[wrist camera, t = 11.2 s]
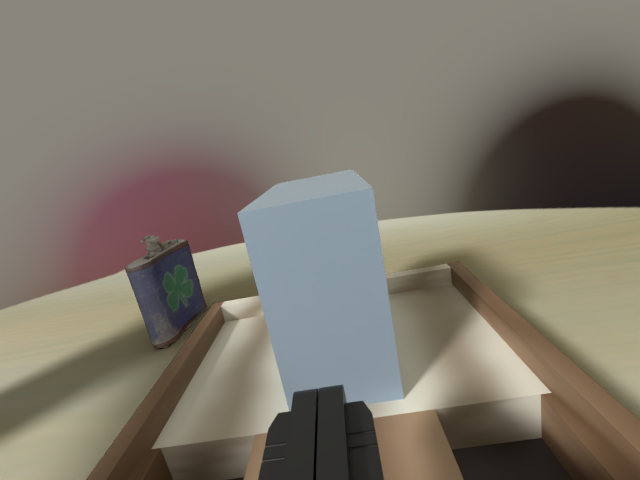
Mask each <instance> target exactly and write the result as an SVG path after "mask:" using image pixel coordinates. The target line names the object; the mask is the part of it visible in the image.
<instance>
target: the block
mask: <svg viewBox="0 0 640 480" xmlns="http://www.w3.org/2000/svg"><path fill="white" fill-rule="evenodd" d="M238 217H239V221H240V225H241V228H242V232H243V236H244V240H245V244H246V248H247V252H248V255H249V259H250V263H251V267H252V271H253V275H254V278H255V282H256V286H257V290H258V294H259V297H260V301H261V305H262V309H263V313H264V317H265V320H266V324H267V328H268V332H269V336H270V340H271V343H272V347H273V351H274V355H275V359H276V363H277V366H278V370H279V374H280V378H281V382H282V385H283V389H284V393H285V397H286V401H287V405H288V408H289V411H291V406H292V399H293V393H294V392H296V391H303V390H309V389H316V388H318V389H319V388H322V387H329V386H335V385H342V384H343V386H344V391H345V396H346V401H347V403H349V402H356V401H363V402H364V403H365V404H372V403H379V402H386V401H393V400H400V399H404V395H403V388H402V382H401V375H400V368H399V362H398V355H397V348H396V342H395V335H394V328H393V322H392V315H391V308H390V301H389V295H388V288H387V281H386V275H385V268H384V261H383V255H382V248H381V241H380V235H379V228H378V221H377V215H376V208H375V201H374V194H373V188H372V187H371V186H370V185H369V184H368V183H367V182H366V181H365V180H363V179H362V178H361V177H360V176H359V175H358V174H357V173H356V172H355V171H353V170H352V169H351V170H346V171H341V172H336V173H331V174H325V175H320V176H315V177H310V178H305V179H299V180H294V181H290V182H284V183H279V184H276V185H275V186H273V187H272V188H271V189H269V190H268V191H267V192H265V193H264V194H263V195H261V196H260V197H259V198H257V199H256V200H255V201H253V202H252V203H251V204H249V205H248V206H246V207H245V208H244V209H242V210H241V211H240V212H238Z"/></svg>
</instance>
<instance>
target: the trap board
mask: <svg viewBox="0 0 640 480" xmlns="http://www.w3.org/2000/svg"><path fill="white" fill-rule="evenodd" d="M385 275H386V281H387V288H388V295H389V301H390V308H391V315H392V322H393V328H394V335H395V342H396V348H397V355H398V362H399V368H400V375H401V382H402V388H403V395H404V399H400V400H393V401H386V402H379V403H372V404H366V406H367V407H368V408H369V410H370V411H371V412H372V415H373V420H374V426H375V431H376V437H377V442H378V448H379V453H380V459H381V465H382V470H383V476H384V480H640V420H639V419H638V418H637V417H635V416H634V415H633V414H632V413H631V412H630V411H629V410H627V409H626V408H625V407H624V406H623V405H622V404H621V403H619V402H618V401H617V400H616V399H615V398H614V397H613V396H611V395H610V394H609V393H608V392H607V391H606V390H605V389H603V388H602V387H601V386H600V385H599V384H598V383H597V382H595V381H594V380H593V379H592V378H591V377H590V376H589V375H587V374H586V373H585V372H584V371H583V370H582V369H581V368H579V367H578V366H577V365H576V364H575V363H574V362H573V361H571V360H570V359H569V358H568V357H567V356H566V355H565V354H563V353H562V352H561V351H560V350H559V349H558V348H557V347H555V346H554V345H553V344H552V343H551V342H550V341H548V340H547V339H546V338H545V337H544V336H543V335H542V334H540V333H539V332H538V331H537V330H536V329H535V328H534V327H532V326H531V325H530V324H529V323H528V322H527V321H526V320H524V319H523V318H522V317H521V316H520V315H519V314H518V313H516V312H515V311H514V310H513V309H512V308H511V307H510V306H508V305H507V304H506V303H505V302H504V301H503V300H502V299H500V298H499V297H498V296H497V295H496V294H495V293H494V292H492V291H491V290H490V289H489V288H488V287H487V286H486V285H484V284H483V283H482V282H481V281H480V280H479V279H478V278H476V277H475V276H474V275H473V274H472V273H471V272H470V271H468V270H467V269H466V268H465V267H464V266H463V265H462V264H460V263H459V262H453V263H447V264H442V265H436V266H430V267H424V268H418V269H412V270H406V271H400V272H395V273H389V274H385ZM288 411H289V408H288V405H287V401H286V397H285V393H284V389H283V385H282V382H281V378H280V374H279V370H278V366H277V363H276V359H275V355H274V351H273V347H272V343H271V340H270V336H269V332H268V328H267V324H266V320H265V317H264V313H263V309H262V305H261V301H260V297H259V296H254V297H248V298H242V299H236V300H230V301H224V302H219V303H213V305H212V306H211V307H210V309H209V310H208V312H207V313H206V314H205V316H204V317H203V319H202V320H201V321H200V323H199V324H198V325H197V327H196V328H195V330H194V331H193V332H192V334H191V335H190V337H189V338H188V339H187V341H186V342H185V343H184V345H183V346H182V348H181V349H180V350H179V352H178V353H177V355H176V356H175V357H174V359H173V360H172V361H171V363H170V364H169V366H168V367H167V368H166V370H165V371H164V373H163V374H162V375H161V377H160V378H159V379H158V381H157V382H156V384H155V385H154V386H153V388H152V389H151V391H150V392H149V393H148V395H147V396H146V397H145V399H144V400H143V402H142V403H141V404H140V406H139V407H138V409H137V410H136V411H135V413H134V414H133V415H132V417H131V418H130V420H129V421H128V422H127V424H126V425H125V427H124V428H123V429H122V431H121V432H120V433H119V435H118V436H117V438H116V439H115V440H114V442H113V443H112V445H111V446H110V447H109V449H108V450H107V451H106V453H105V454H104V456H103V457H102V458H101V460H100V461H99V463H98V464H97V465H96V467H95V468H94V469H93V471H92V472H91V474H90V475H89V476H88V478H87V479H86V480H258V477H259V472H260V467H261V463H262V458H263V453H264V449H265V443H266V438H267V433H268V428H269V427H270V425H271V424H272V422H273V420H274V419H275V417H276V416H277V414H278V413H282V412H288Z"/></svg>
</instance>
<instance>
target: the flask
mask: <svg viewBox="0 0 640 480" xmlns="http://www.w3.org/2000/svg"><path fill="white" fill-rule="evenodd" d="M148 238H149V239H148ZM158 238H160V237H159V236H158V237H156V236H154V235H153V236H146V237H145V238H143V239H142V240H143V241H146V242H147V248H146V250H147V251H148V252H149V253H148V254H147V255H145V256H143V257H141V258H140V259H138V260H136V261H134V262H132V263H131V264H129V265H128V266H127V267H126V268H125V270H126V273H127V275H128V278H129V280H130V283H131V286H132V289H133V291H134V294H135V297H136V300H137V303H138V305H139V308H140V311H141V313H142V316H143V319H144V321H145V325H146V328H147V331H148V334H149V336H150V340H151V343H152V345H153V346H154V345H155V346H157V347H158V348H157V347H155V346H154V348H155V349H159V348H163V347H164V348H167V347H168V346H169V345H170V344H171V343H173V342H175V341H176V340H178V339H179V338H180V337H179V336H180V335H181V334H182V333H183V332H185V330H187V329H188V328H190V326H191V325H192V322H193V321H194V320H197V317H198V316H199V315H202V313H203V312H204V311H205V310H207V306H206V303H205V300H204V297H203V294H202V290H201V286H200V282H199V278H198V276H197V272H196V269H195V265H194V262H193V258H192V255H191V250H190V247H189V244H188V241H187V240H178V239H175V240H168V241H166V242H164V243H161V242H159V241H158V240H157V239H158ZM143 241H141V243H142V242H143ZM167 243H168V244H167Z"/></svg>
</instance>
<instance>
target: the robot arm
mask: <svg viewBox="0 0 640 480" xmlns="http://www.w3.org/2000/svg"><path fill="white" fill-rule="evenodd" d="M258 480H384V476H383V470H382V465H381V459H380V453H379V448H378V442H377V437H376V431H375V426H374V420H373V415H372V412H371V411H370V410H369V408H368V407H367V406H366V404H365V403H364V402H363V401H356V402H349V403H347V401H346V396H345V391H344V386H343V384H342V385H335V386H329V387H322V388H319V389H318V388H316V389H309V390H303V391H296V392H294V393H293V399H292V406H291V411H288V412H282V413H278V414H277V416H276V417H275V419H274V420H273V422H272V424H271V425H270V427H269V428H268V433H267V438H266V443H265V449H264V453H263V458H262V463H261V467H260V472H259V477H258Z"/></svg>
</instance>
